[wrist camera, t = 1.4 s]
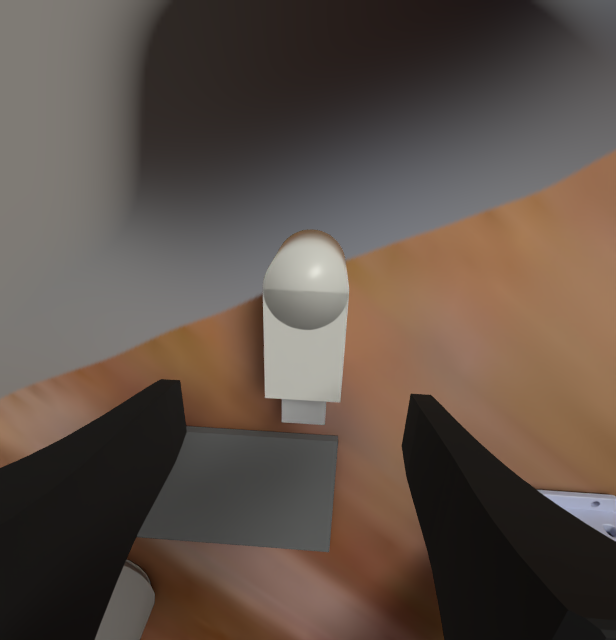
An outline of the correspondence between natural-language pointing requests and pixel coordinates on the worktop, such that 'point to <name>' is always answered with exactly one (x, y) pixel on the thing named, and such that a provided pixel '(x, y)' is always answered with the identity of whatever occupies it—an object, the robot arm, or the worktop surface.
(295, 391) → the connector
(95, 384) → the worktop surface
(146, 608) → the can
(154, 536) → the mat
